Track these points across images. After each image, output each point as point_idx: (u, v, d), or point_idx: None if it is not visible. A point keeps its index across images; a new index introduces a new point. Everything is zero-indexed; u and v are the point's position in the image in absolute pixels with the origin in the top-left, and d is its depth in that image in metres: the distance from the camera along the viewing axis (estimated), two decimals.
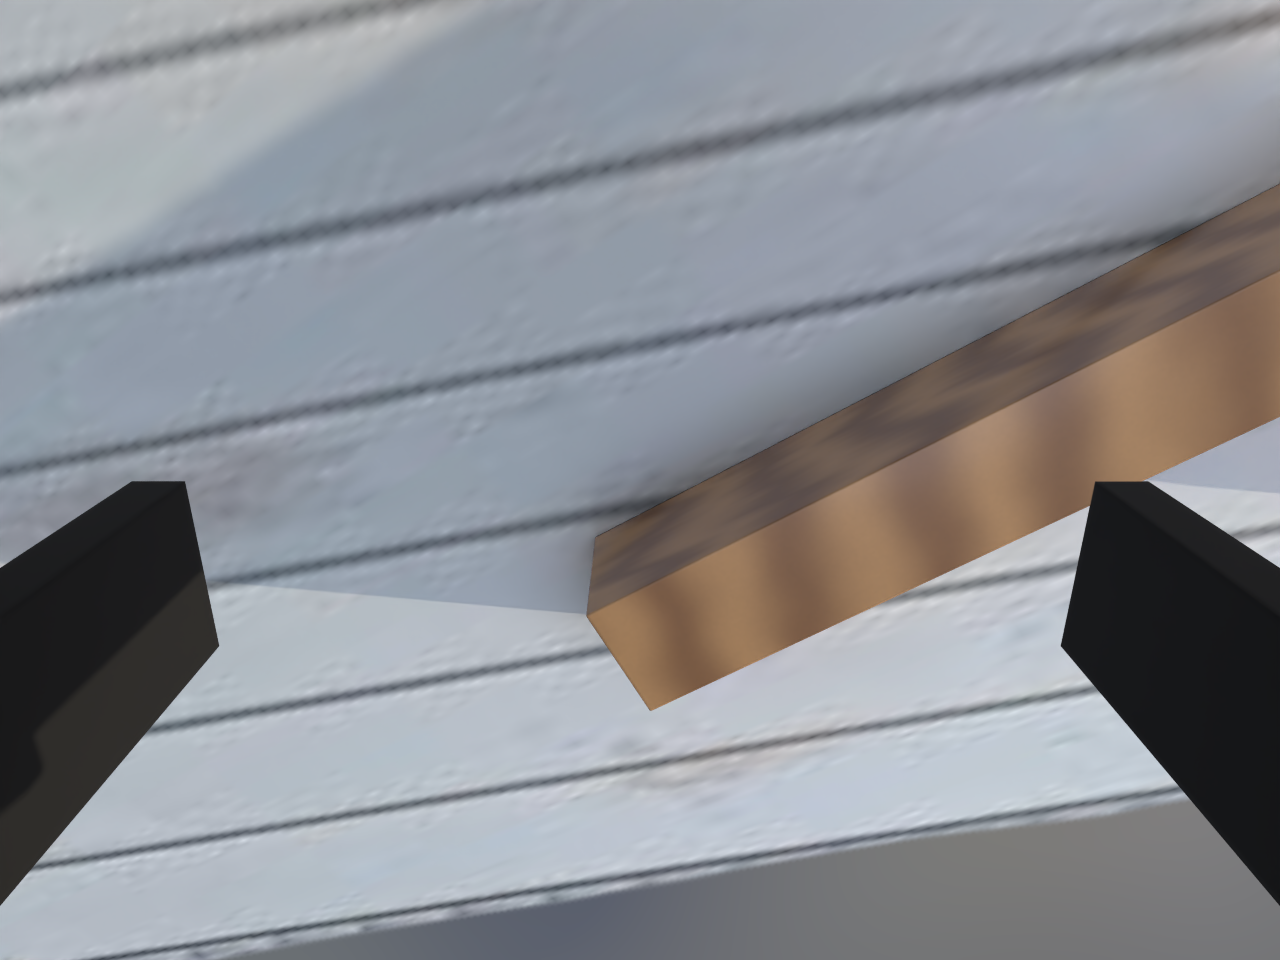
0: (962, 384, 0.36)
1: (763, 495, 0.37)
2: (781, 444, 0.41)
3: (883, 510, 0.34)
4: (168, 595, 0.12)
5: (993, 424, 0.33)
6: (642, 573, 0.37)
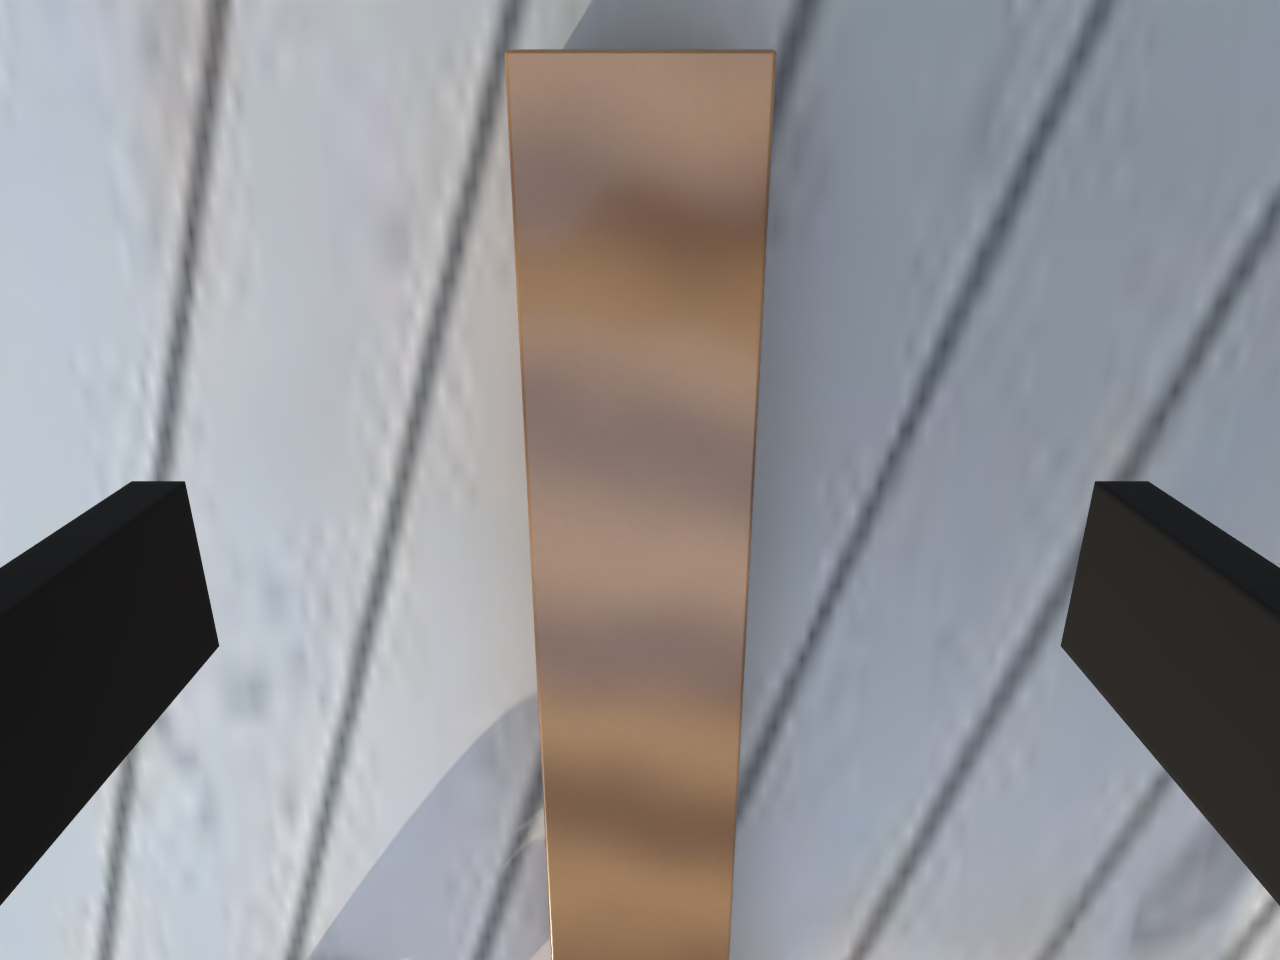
0: None
1: None
2: None
3: (683, 603, 0.22)
4: (168, 595, 0.12)
5: (724, 763, 0.24)
6: None
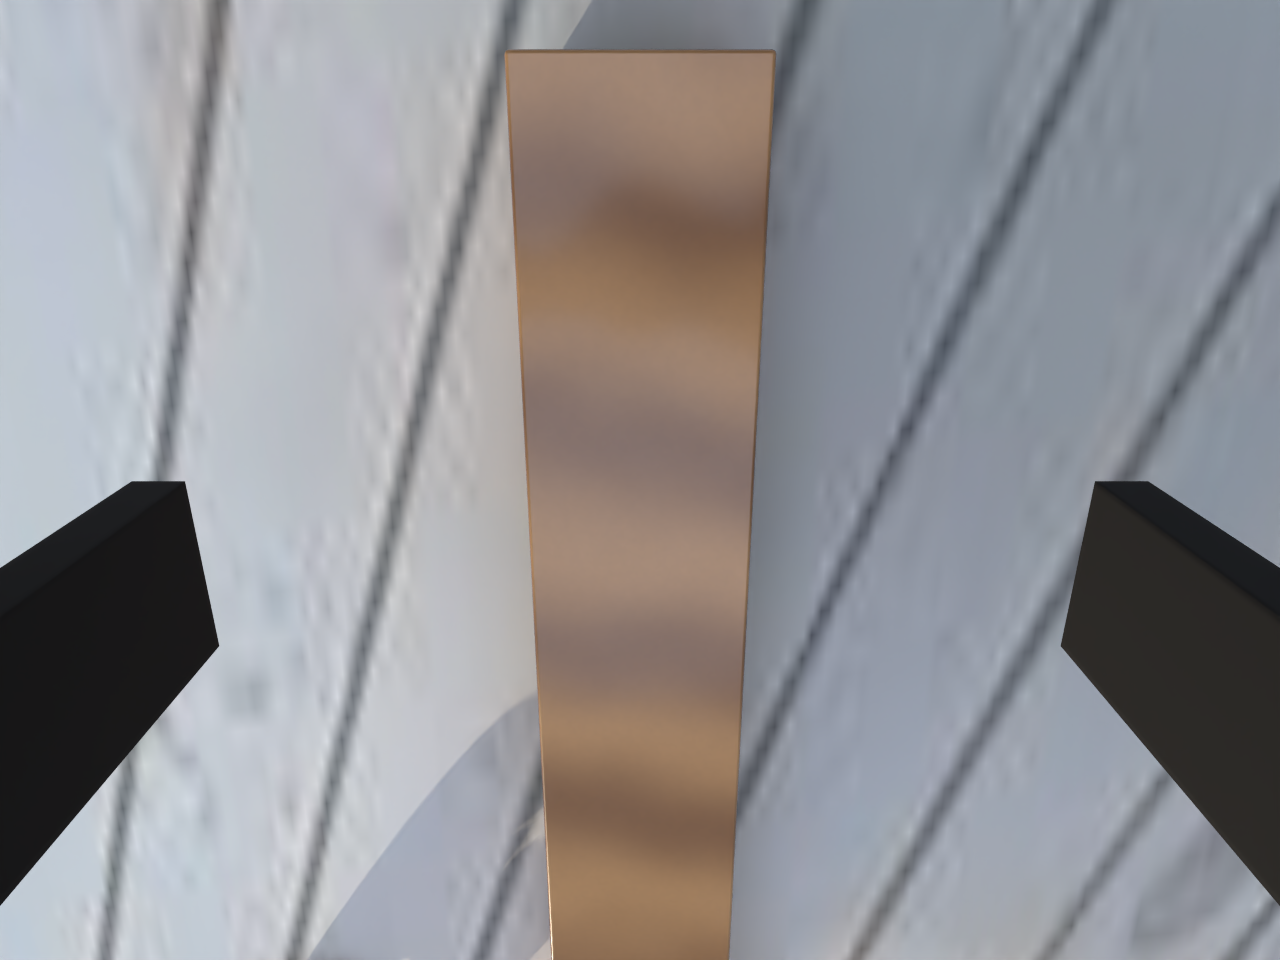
0: None
1: None
2: None
3: (683, 603, 0.22)
4: (168, 595, 0.12)
5: (724, 763, 0.24)
6: None
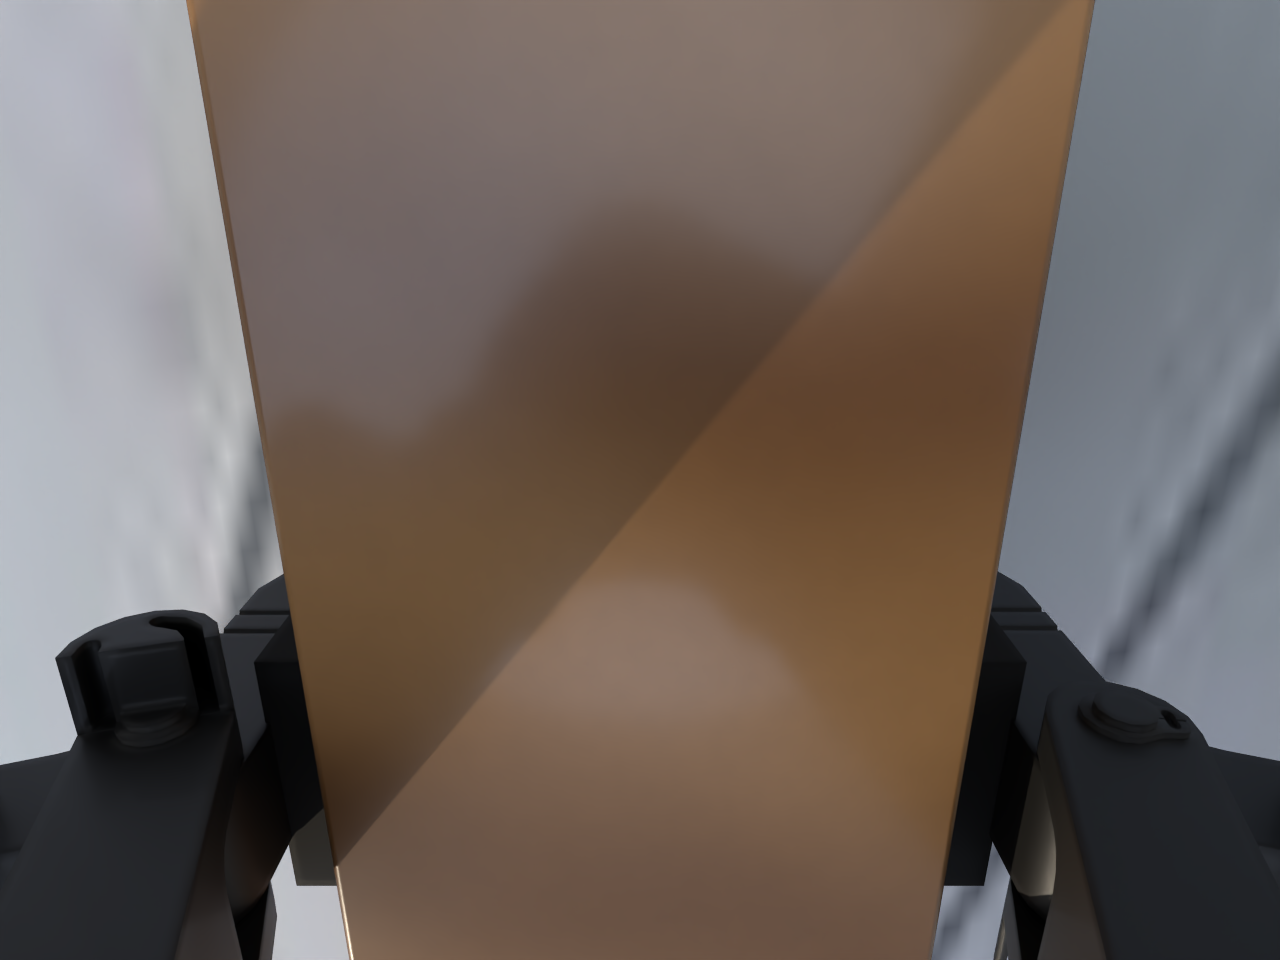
0: None
1: None
2: None
3: None
4: None
5: None
6: None
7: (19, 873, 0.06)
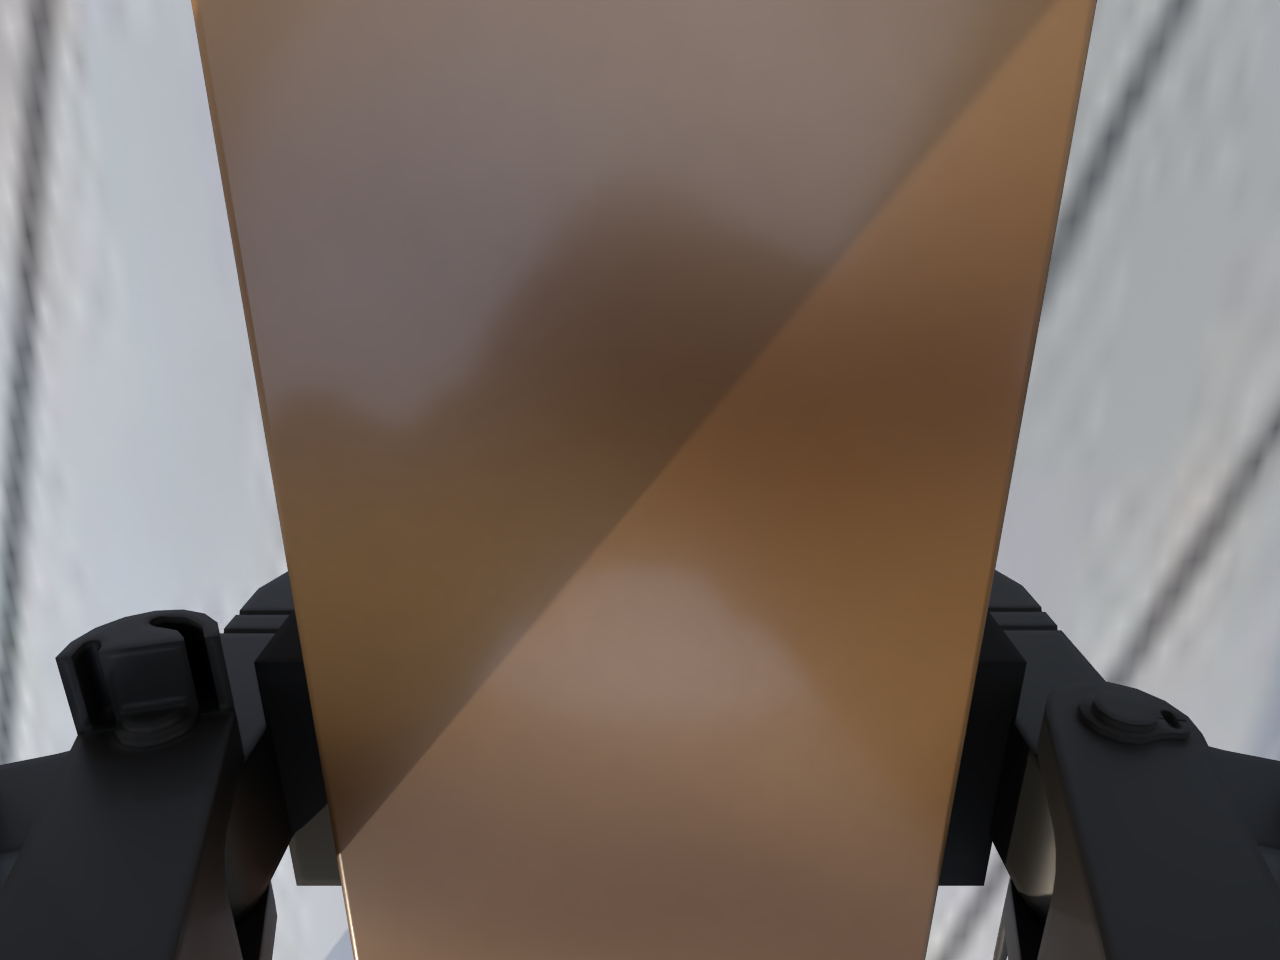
0: None
1: None
2: None
3: None
4: None
5: None
6: None
7: (19, 873, 0.06)
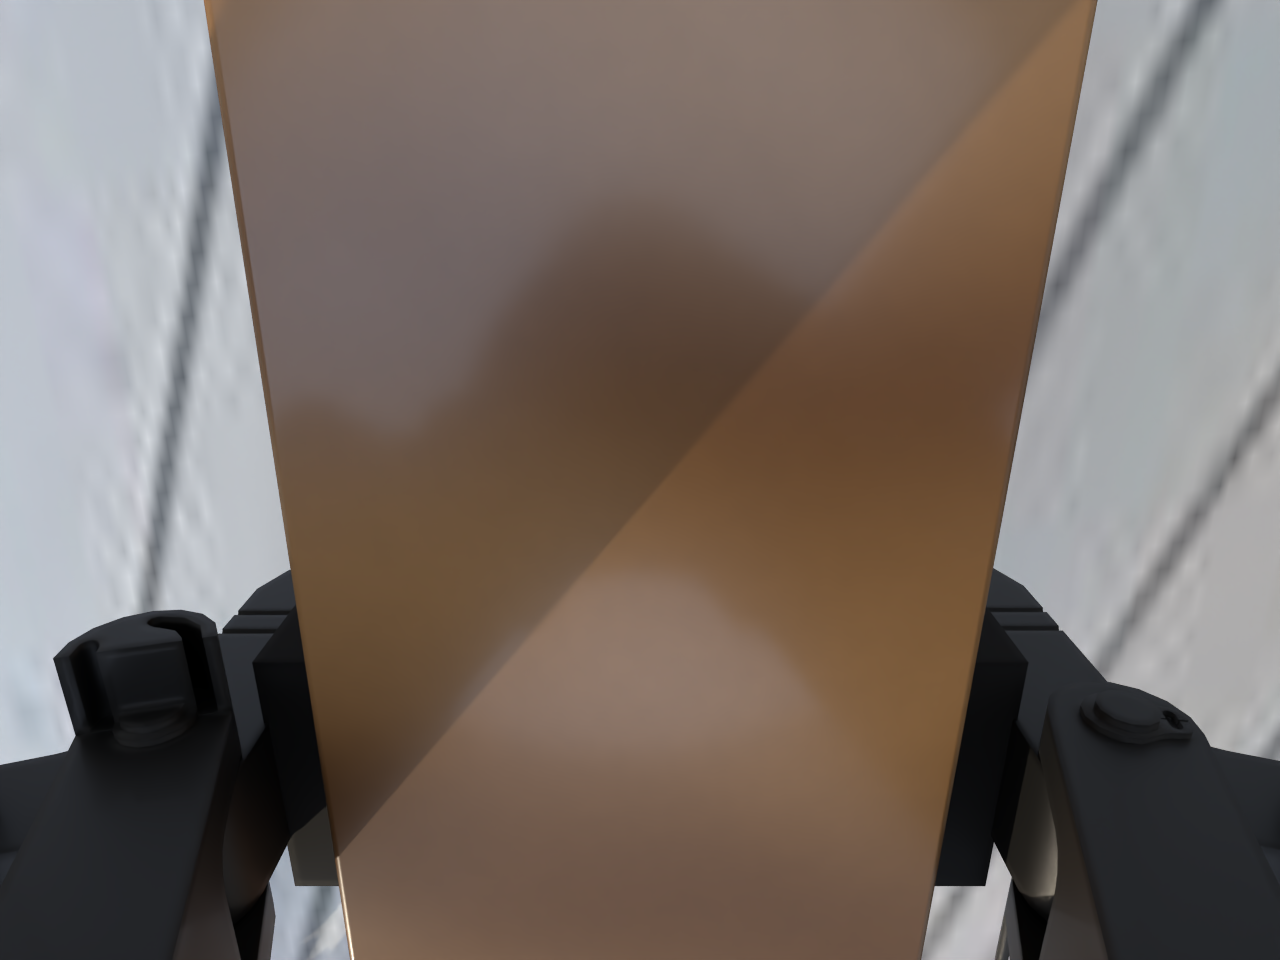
0: None
1: None
2: None
3: None
4: None
5: None
6: None
7: (17, 874, 0.06)
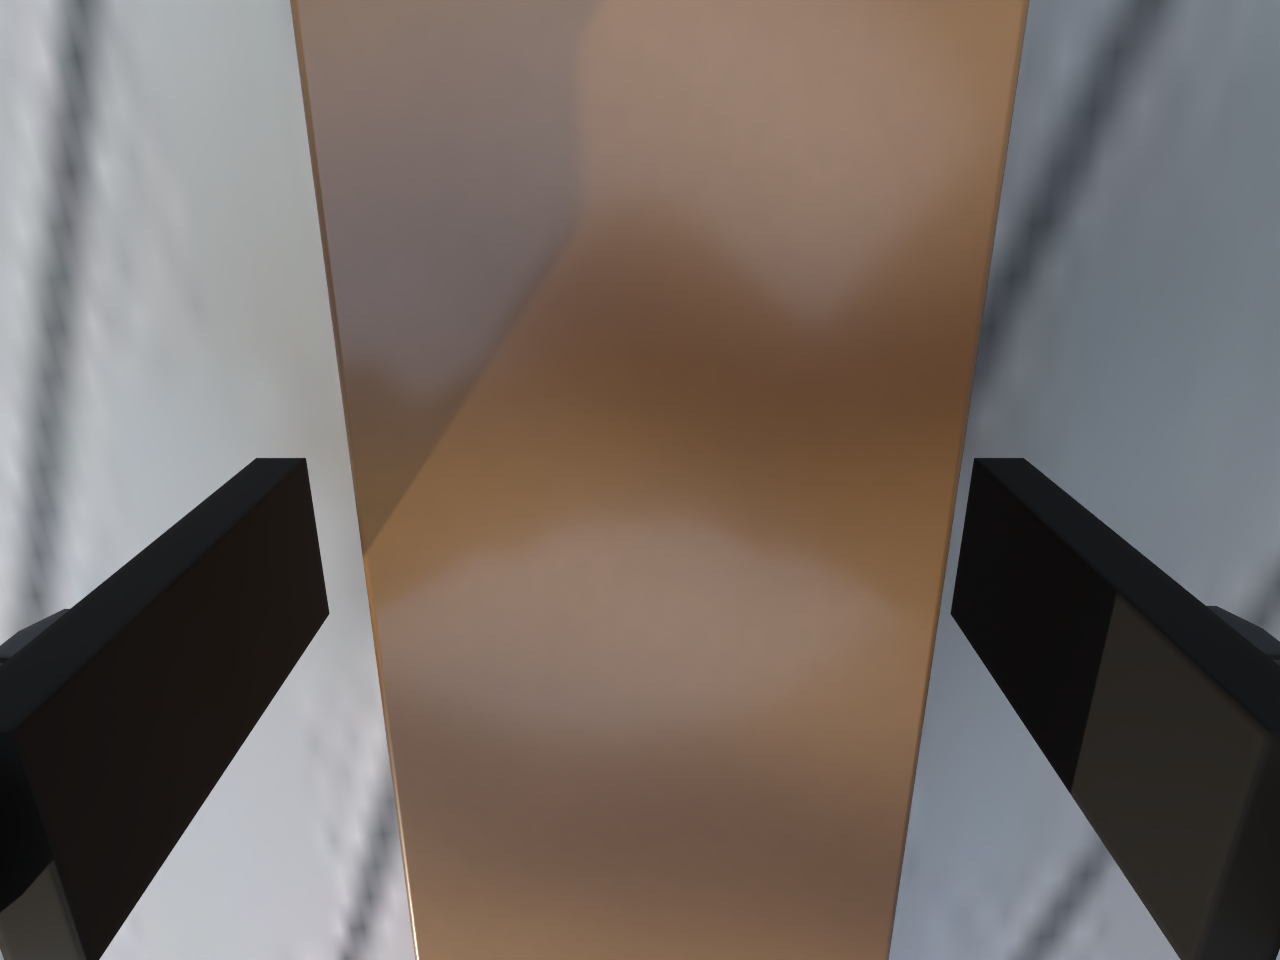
0: None
1: None
2: None
3: None
4: (295, 563, 0.12)
5: None
6: None
7: None
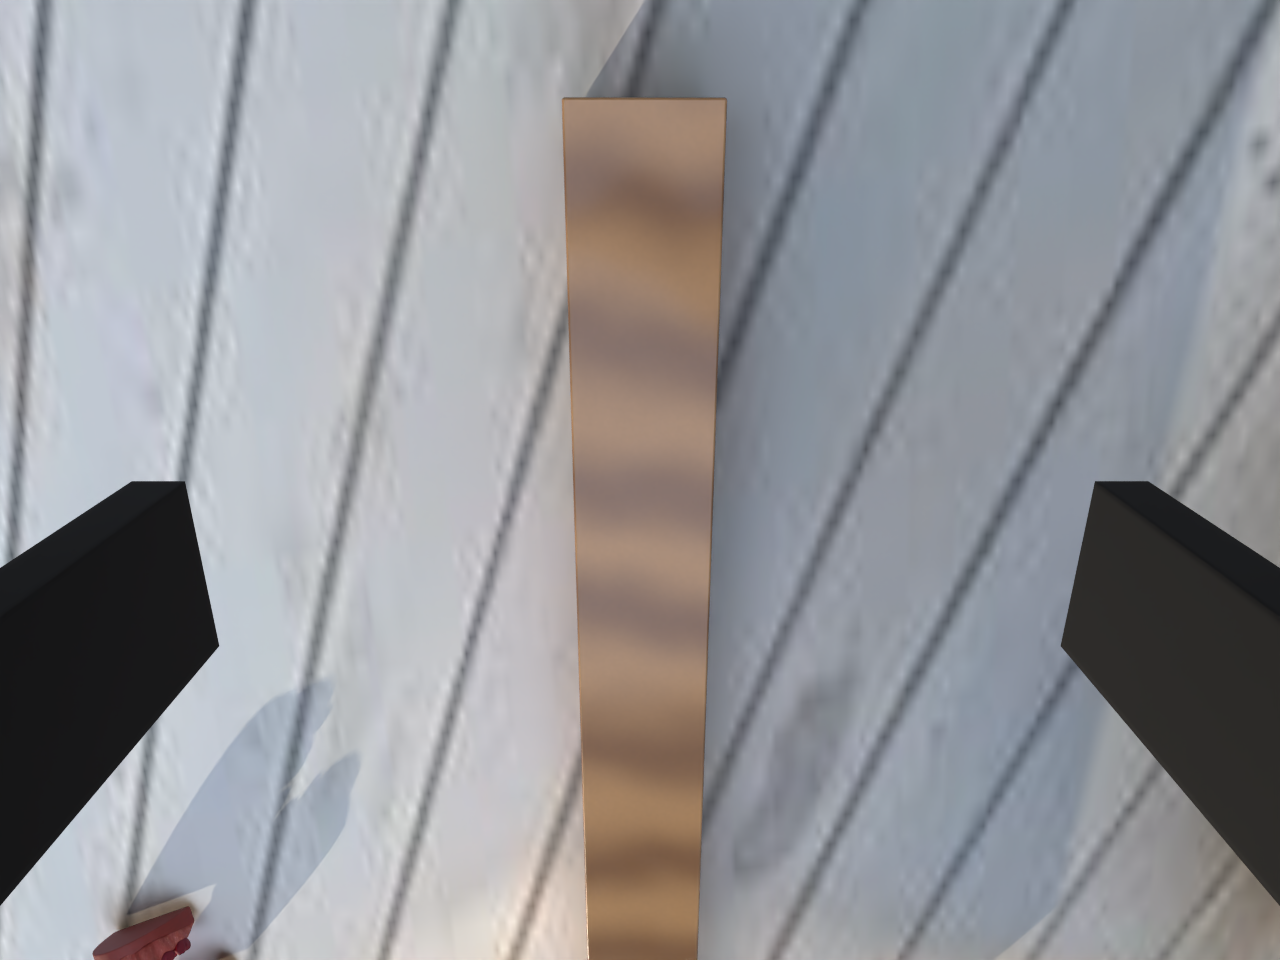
0: None
1: None
2: None
3: (672, 457, 0.34)
4: (168, 595, 0.12)
5: (700, 573, 0.35)
6: None
7: None
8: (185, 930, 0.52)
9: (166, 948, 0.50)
